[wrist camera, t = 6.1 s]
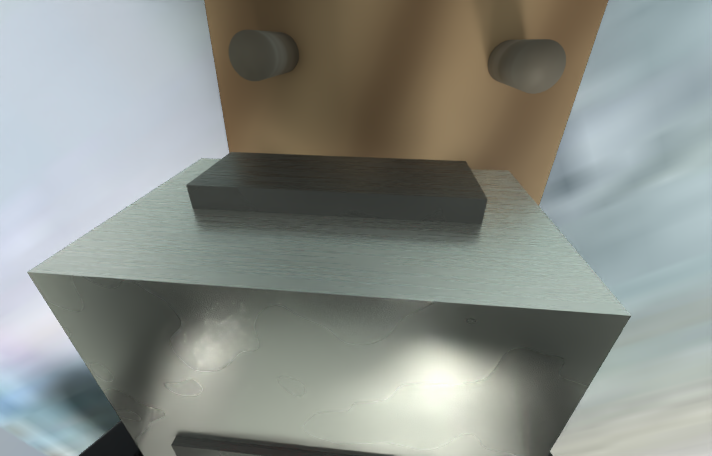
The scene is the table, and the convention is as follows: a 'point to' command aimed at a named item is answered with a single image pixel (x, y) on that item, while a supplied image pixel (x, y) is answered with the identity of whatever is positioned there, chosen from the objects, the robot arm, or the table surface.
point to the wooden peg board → (404, 78)
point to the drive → (334, 311)
